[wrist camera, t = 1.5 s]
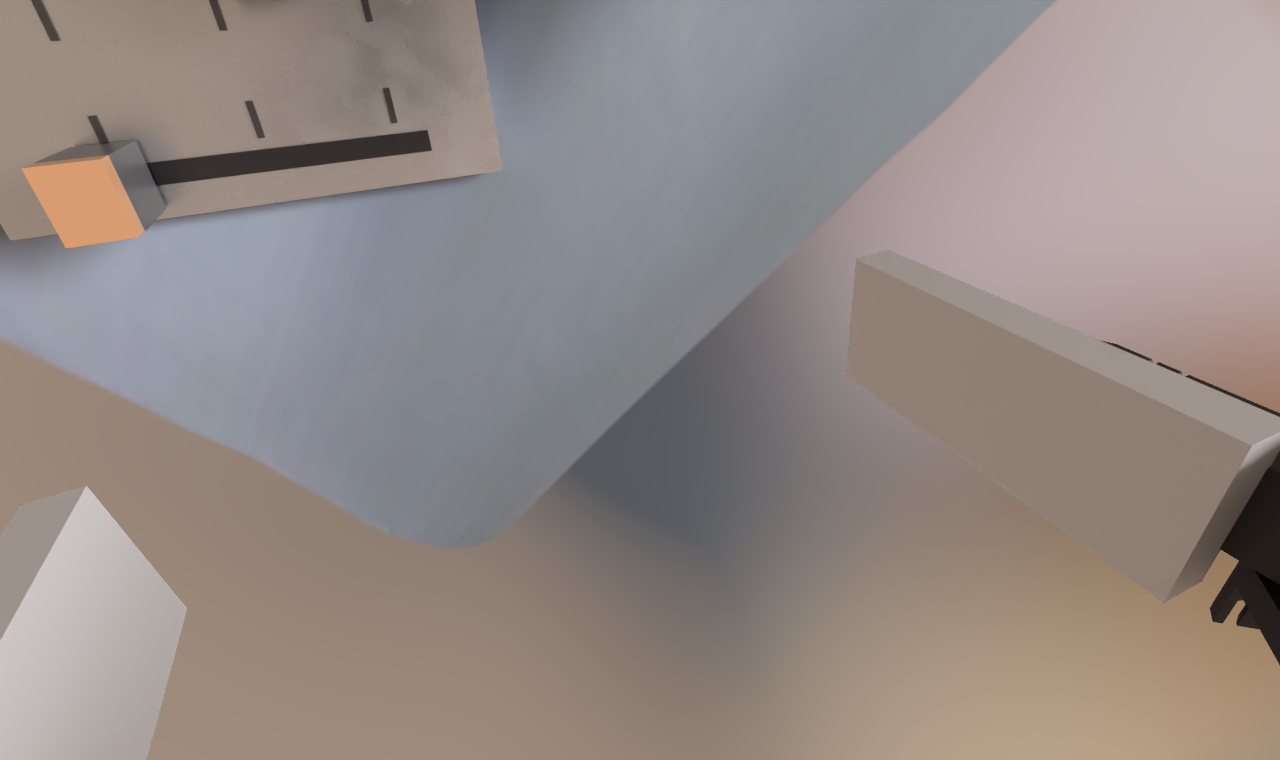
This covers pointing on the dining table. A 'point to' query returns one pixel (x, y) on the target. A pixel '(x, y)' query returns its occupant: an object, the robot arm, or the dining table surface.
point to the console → (244, 96)
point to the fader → (96, 192)
